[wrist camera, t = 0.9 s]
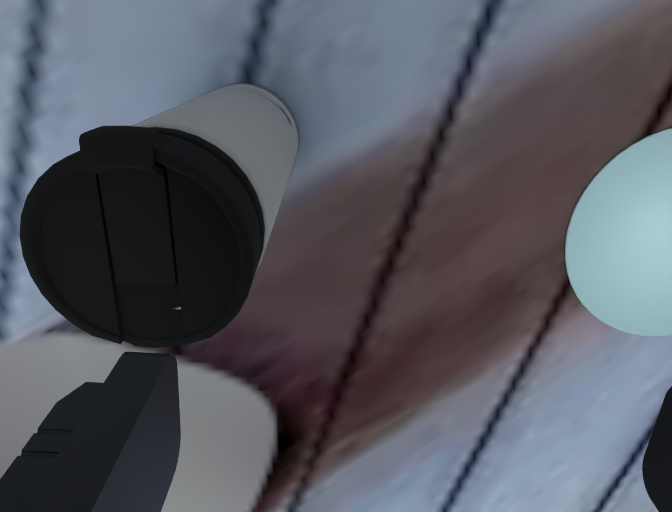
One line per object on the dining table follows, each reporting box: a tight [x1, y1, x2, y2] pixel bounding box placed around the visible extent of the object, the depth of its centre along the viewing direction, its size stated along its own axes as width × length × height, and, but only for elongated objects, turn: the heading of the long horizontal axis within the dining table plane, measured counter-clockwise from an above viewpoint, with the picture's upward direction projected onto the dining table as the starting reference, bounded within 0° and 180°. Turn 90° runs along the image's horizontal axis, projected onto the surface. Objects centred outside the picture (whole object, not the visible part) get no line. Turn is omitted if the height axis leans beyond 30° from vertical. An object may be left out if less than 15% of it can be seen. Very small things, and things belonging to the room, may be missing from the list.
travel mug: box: [20, 83, 299, 348], centre depth 24 cm, size 6×7×20 cm
